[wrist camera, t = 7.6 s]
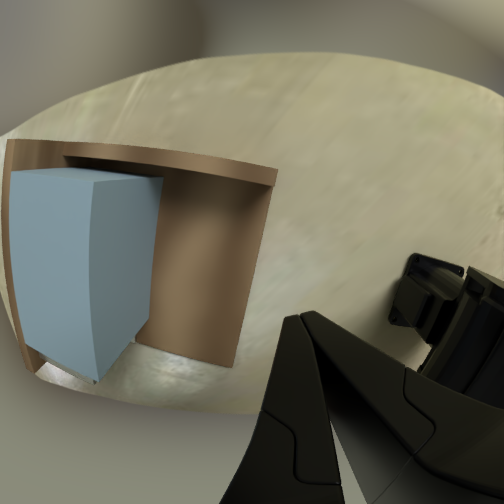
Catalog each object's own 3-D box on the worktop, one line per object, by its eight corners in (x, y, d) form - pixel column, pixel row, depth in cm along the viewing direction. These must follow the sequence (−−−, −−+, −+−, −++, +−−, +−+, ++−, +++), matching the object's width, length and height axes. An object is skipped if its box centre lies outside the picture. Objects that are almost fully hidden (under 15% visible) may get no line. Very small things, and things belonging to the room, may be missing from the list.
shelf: (276, 171, 19) (281, 165, 10) (233, 364, 24) (215, 446, 15) (89, 144, 20) (7, 139, 10) (82, 317, 24) (26, 368, 15)
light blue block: (163, 177, 19) (93, 181, 11) (148, 318, 23) (99, 382, 14) (90, 167, 19) (11, 171, 11) (85, 297, 23) (25, 344, 14)
